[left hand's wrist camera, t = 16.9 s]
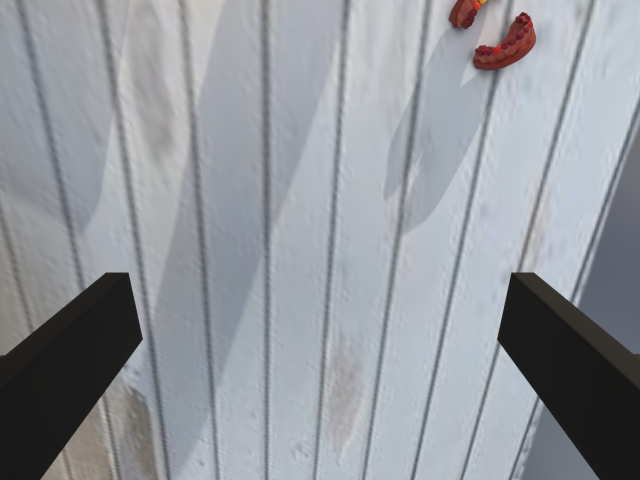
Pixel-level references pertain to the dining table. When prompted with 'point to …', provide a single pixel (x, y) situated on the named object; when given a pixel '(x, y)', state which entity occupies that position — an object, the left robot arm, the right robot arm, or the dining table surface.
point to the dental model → (507, 51)
